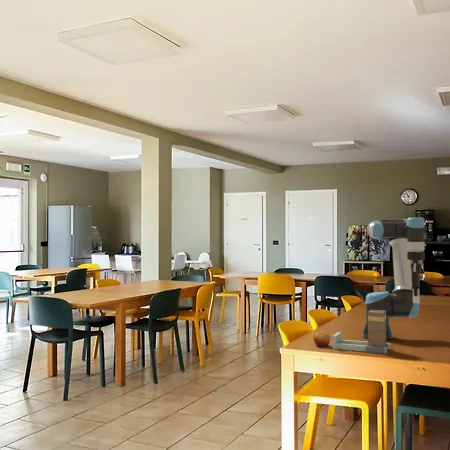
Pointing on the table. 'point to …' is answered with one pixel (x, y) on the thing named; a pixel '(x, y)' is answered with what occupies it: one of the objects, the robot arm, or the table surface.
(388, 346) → the chute
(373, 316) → the block
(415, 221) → the robot arm
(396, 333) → the table surface
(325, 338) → the fruit
